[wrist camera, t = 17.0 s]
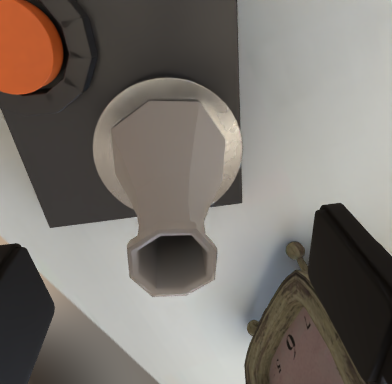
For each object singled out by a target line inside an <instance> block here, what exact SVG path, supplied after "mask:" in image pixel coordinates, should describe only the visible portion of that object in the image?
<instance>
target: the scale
mask: <svg viewBox="0 0 392 384" xmlns="http://www.w3.org/2000/svg"><path fill="white" fill-rule="evenodd" d="M25 1H28V2H29V3H31V4H33V5H35V6H36V7H38V8H39V9H40V10H41V11H43V12H44V13H45V14H46V15H47V16H48V17H49V19H50V20H51V21H52V22H53V24H54V25H55V27H56V29H57V31H58V33H59V35H60V38H61V41H62V45H63V52H64V55H63V64H62V67H61V70H60V72H59V74H58V75H57V77H56V78H55V79H54V80H53V81H52V82H50V83H49V84H47V85H45V86H43V87H42V88H40V89H38V90H36V91H34V92H31V93H28V94H20V95H16V94H8V93H4V92H1V91H0V108H1V110H2V113H3V115H4V118H5V120H6V122H7V125H8V127H9V130H10V132H11V134H12V137H13V139H14V142H15V144H16V147H17V149H18V151H19V154H20V156H21V159H22V161H23V164H24V166H25V168H26V171H27V173H28V176H29V178H30V181H31V183H32V185H33V188H34V190H35V193H36V195H37V198H38V200H39V202H40V205H41V207H42V210H43V212H44V215H45V217H46V219H47V222H48V224H49V227H50V228H54V227H61V226H69V225H77V224H84V223H92V222H100V221H107V220H115V219H123V218H131V217H137V215H136V213H135V211H134V210H133V209H131V208H129V207H128V206H126V205H125V204H123V203H122V202H120V201H119V200H118V199H117V198H116V197H114V196H113V195H112V193H111V192H110V191H109V190H108V189H107V188H106V186H105V185H104V183H103V182H102V180H101V178H100V176H99V174H98V172H97V169H96V166H95V162H94V158H93V136H94V131H95V127H96V125H97V122H98V120H99V117H100V116H101V114H102V112H103V110H104V109H105V108H106V106H107V105H108V104H109V102H110V101H111V100H112V99H113V98H114V97H115V96H116V95H117V94H118V93H120V92H121V91H123V90H124V89H125V88H127V87H129V86H131V85H133V84H135V83H137V82H140V81H142V80H145V79H150V78H155V77H168V76H169V77H180V78H184V79H188V80H191V81H194V82H197V83H199V84H201V85H203V86H205V87H207V88H209V89H210V90H211V91H213V92H214V93H215V94H217V95H218V96H219V97H220V98H221V99H222V100H223V101H224V102H225V103H226V105H227V106H228V107H229V109H230V110H231V111H232V113H233V115H234V117H235V118H236V120H237V123H238V126H239V128H240V98H239V60H238V22H237V0H25ZM238 203H242V175H241V165H240V168H239V171H238V173H237V176H236V178H235V180H234V181H233V183H232V185H231V186H230V188H229V189H228V190H227V191H226V192H225V194H224V195H223V196H222V197H221V198H220V199H218V200H217V201H216V202H215V203H213V204H212V205H210V207H215V206H223V205H231V204H238Z"/></svg>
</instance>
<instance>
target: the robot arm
mask: <svg viewBox="0 0 392 384" xmlns="http://www.w3.org/2000/svg"><path fill="white" fill-rule="evenodd" d="M308 277H309V280H310V282H311V284H312V286H313V288H314V290H315V291H316V293H317V295H318V297H319V299H320V301H321V303H322V305H323V307H324V308H325V310H326V312H327V314H328V316H329V318H330V320H331V322H332V324H333V326H334V327H335V329H336V331H337V333H338V335H339V337H340V339H341V341H342V343H343V344H344V346H345V348H346V350H347V352H348V354H349V356H350V358H351V360H352V362H353V363H354V365H355V367H356V369H357V371H358V373H359V375H360V376H361V378H362V379H363V380H364V381H365V382H370V384H392V256H391V255H390V254H389V253H388V252H387V251H386V250H385V249H384V248H383V246H382V245H381V244H379V243H378V242H377V241H376V240H375V239H374V238H373V237H372V236H371V235H370V234H369V233H368V231H367V230H366V229H365V228H364V227H363V226H362V225H361V224H360V223H359V222H358V220H357V219H356V218H355V217H354V216H353V215H352V214H351V213H350V212H349V211H348V210H347V208H346V207H345V206H344V205H343V204H341V203H336V204H328V205H322V206H321V208H320V210H317V211H316V212H315V217H314V225H313V233H312V240H311V248H310V256H309V264H308ZM54 309H55V307H54V302H53V300H52V298H51V296H50V294H49V292H48V290H47V289H46V287H45V284H44V282H43V280H42V278H41V276H40V274H39V272H38V270H37V268H36V266H35V264H34V262H33V261H32V259H31V257H30V255H29V253H28V251H27V249H26V248H25V247H21V245H19V244H17V243H15V244H7V245H0V384H28V381H29V378H30V376H31V373H32V370H33V368H34V365H35V362H36V360H37V357H38V355H39V352H40V349H41V347H42V344H43V341H44V338H45V336H46V333H47V331H48V328H49V325H50V323H51V320H52V317H53V315H54Z"/></svg>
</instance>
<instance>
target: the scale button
mask: <svg viewBox="0 0 392 384" xmlns="http://www.w3.org/2000/svg"><path fill="white" fill-rule="evenodd" d="M63 55H64V52H63V45H62V41H61V38H60V35H59V33H58V31H57V29H56V27H55V25H54V24H53V22H52V21H51V20H50V19H49V17H48V16H47V15H46V14H45V13H44V12H43V11H41V10H40V9H39V8H38V7H36V6H35V5H33V4H31V3H29V2H28V1H25V0H0V91H1V92H4V93H8V94H16V95H20V94H28V93H31V92H34V91H36V90H38V89H40V88H42V87H43V86H45V85H47V84H49V83H50V82H52V81H53V80H54V79H55V78H56V77H57V75H58V74H59V72H60V70H61V67H62V64H63Z"/></svg>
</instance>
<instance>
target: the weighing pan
mask: <svg viewBox="0 0 392 384" xmlns="http://www.w3.org/2000/svg"><path fill="white" fill-rule="evenodd" d="M148 101H189V102H200V103H201V104H202V106H203V107H204V109H205V110H206V112H207V113H208V115H209V116H210V118H211V119H212V121H213V122H214V124H215V125H216V127H217V128H218V130H219V131H220V132H221V134H222V135H223V137H224V138H225V140H226V142H225V153H224V164H223V175H222V183H221V185H220V187H219V189H218V191H217V193H216V195H215V196H214V198H213V200H212V203H211V205H212V204H213V203H215V202H216V201H217V200H218V199H220V198H221V197H222V196H223V195H224V194H225V192H226V191H227V190H228V189H229V188H230V186H231V185H232V183H233V181H234V180H235V178H236V176H237V173H238V171H239V168H240V165H241V159H242V149H243V146H242V136H241V132H240V128H239V126H238V123H237V120H236V118H235V117H234V115H233V113H232V111H231V110H230V109H229V107H228V106H227V105H226V103H225V102H224V101H223V100H222V99H221V98H220V97H219V96H218V95H217V94H215V93H214V92H213V91H211V90H210V89H209V88H207V87H205V86H203V85H201V84H199V83H197V82H194V81H191V80H188V79H184V78H180V77H169V76H168V77H155V78H150V79H145V80H142V81H140V82H137V83H135V84H133V85H131V86H129V87H127V88H125V89H124V90H123V91H121V92H120V93H118V94H117V95H116V96H115V97H114V98H113V99H112V100H111V101H110V102H109V104H108V105H107V106H106V108H105V109H104V110H103V112H102V114H101V116H100V117H99V120H98V122H97V125H96V127H95V131H94V136H93V158H94V162H95V166H96V169H97V172H98V174H99V176H100V178H101V180H102V182H103V183H104V185H105V186H106V188H107V189H108V190H109V191H110V192H111V193H112V195H113V196H114V197H116V198H117V199H118V200H119V201H120V202H122V203H123V204H125V205H126V206H128V207H129V208H131V209H133V206H132V204H131V202H130V200H129V198H128V196H127V194H126V192H125V191H124V189H123V187H122V186H121V184H120V182H119V181H118V179H117V177H116V175H115V167H114V157H113V147H112V137H111V129H113V128H114V127H115V126H117V125H118V124H119V123H120V122H122V121H123V120H124V119H126V118H127V117H128V116H130V115H131V114H132V113H134V112H135V111H136V110H138V109H139V108H140V107H142V106H143V105H144V104H146V103H147V102H148ZM133 210H134V209H133Z"/></svg>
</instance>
